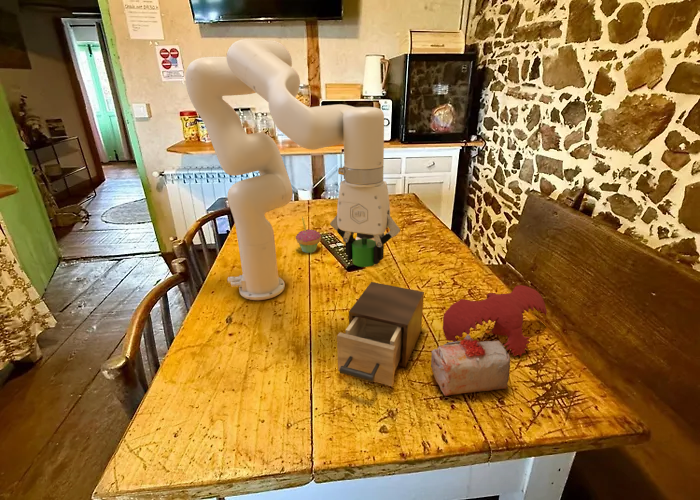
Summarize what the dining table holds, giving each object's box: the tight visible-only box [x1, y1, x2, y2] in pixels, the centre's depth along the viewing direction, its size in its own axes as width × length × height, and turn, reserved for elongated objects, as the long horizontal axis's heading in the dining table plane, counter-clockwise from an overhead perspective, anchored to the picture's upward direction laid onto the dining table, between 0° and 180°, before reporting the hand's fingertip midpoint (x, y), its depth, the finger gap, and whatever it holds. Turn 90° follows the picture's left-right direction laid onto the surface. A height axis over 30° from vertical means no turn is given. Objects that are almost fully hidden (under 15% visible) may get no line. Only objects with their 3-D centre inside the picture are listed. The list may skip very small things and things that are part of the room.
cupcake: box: [295, 216, 322, 254], centre depth 133 cm, size 9×8×12 cm
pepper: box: [351, 237, 376, 268], centre depth 83 cm, size 5×5×5 cm
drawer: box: [336, 316, 404, 387], centre depth 79 cm, size 17×11×9 cm
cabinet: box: [348, 281, 425, 368], centre depth 88 cm, size 14×13×11 cm
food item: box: [430, 333, 511, 397], centre depth 75 cm, size 14×8×10 cm, turn 97°
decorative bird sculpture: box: [442, 284, 548, 358], centre depth 88 cm, size 28×9×15 cm
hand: (364, 258), depth 84 cm, fingers closed on pepper, 5 cm apart
